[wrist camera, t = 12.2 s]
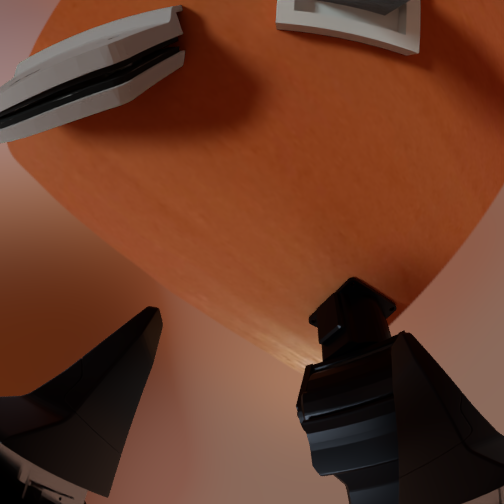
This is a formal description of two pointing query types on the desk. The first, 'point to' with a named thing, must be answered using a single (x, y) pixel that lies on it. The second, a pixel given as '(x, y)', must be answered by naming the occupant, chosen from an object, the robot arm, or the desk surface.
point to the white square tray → (354, 23)
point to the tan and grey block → (371, 5)
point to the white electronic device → (90, 73)
